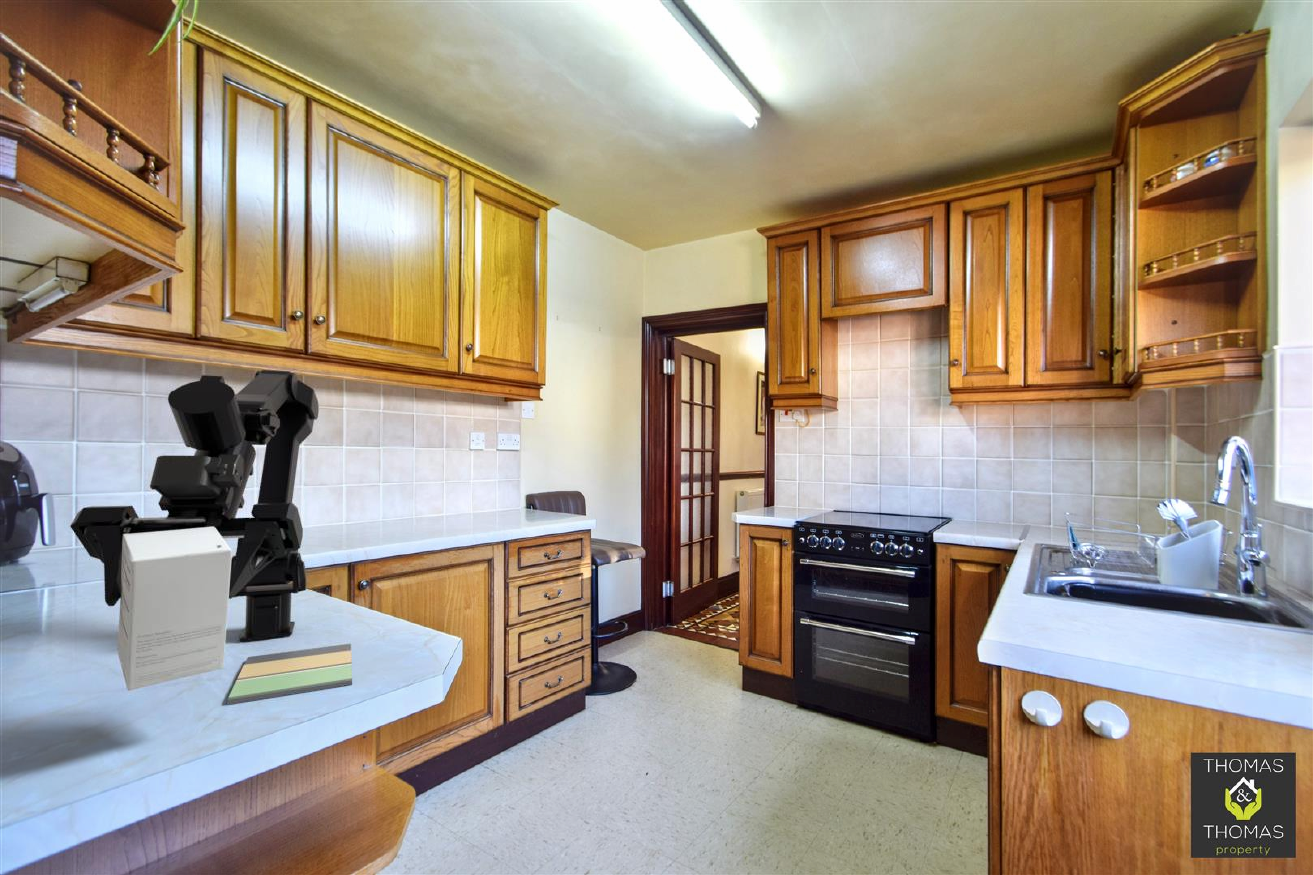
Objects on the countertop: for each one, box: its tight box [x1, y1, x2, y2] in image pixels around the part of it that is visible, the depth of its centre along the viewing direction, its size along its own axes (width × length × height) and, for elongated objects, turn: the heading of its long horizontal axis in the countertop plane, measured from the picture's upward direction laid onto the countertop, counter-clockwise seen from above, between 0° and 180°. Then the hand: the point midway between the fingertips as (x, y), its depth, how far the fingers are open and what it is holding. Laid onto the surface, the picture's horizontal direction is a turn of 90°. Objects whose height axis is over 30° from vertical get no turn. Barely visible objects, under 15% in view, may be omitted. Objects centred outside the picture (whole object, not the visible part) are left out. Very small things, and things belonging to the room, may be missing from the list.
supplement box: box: [117, 527, 233, 691], centre depth 56 cm, size 7×7×13 cm
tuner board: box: [227, 643, 353, 706], centre depth 72 cm, size 15×12×1 cm
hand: (170, 600), depth 55 cm, fingers closed on supplement box, 9 cm apart
